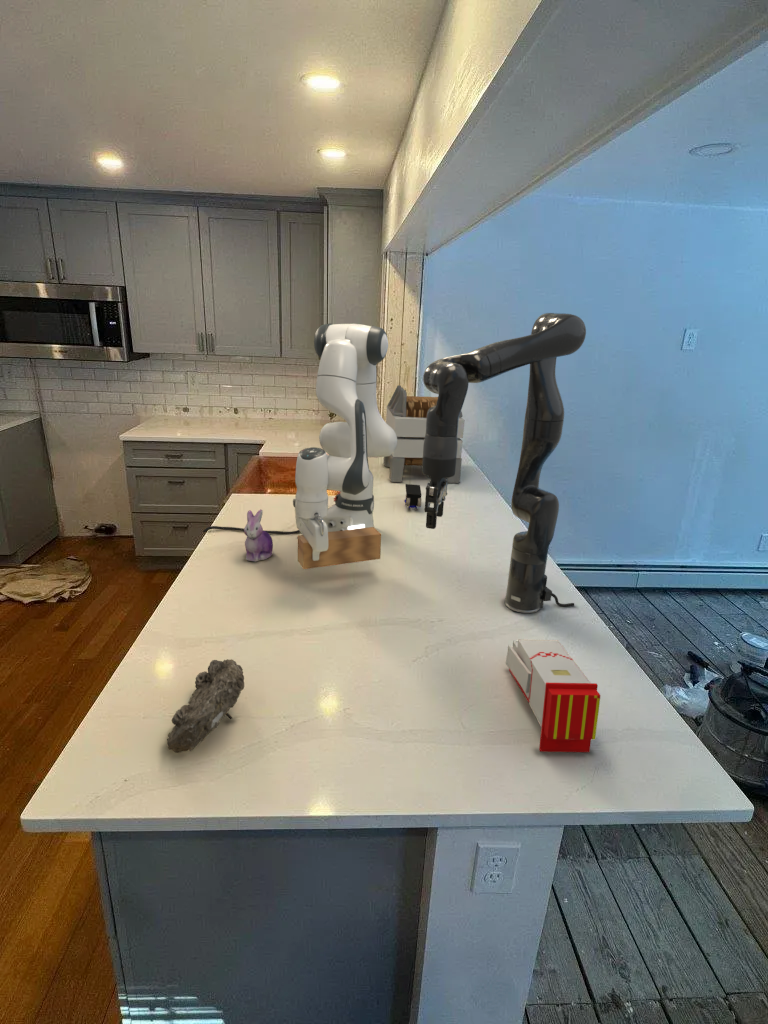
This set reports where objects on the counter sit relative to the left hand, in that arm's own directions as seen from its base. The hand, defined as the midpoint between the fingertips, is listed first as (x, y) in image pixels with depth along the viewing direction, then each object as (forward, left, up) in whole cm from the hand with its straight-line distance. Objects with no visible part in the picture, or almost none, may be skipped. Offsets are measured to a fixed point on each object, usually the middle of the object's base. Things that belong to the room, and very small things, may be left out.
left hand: (311, 554), depth 159 cm
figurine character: (+12, +75, -9) cm, 77 cm away
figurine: (-22, +10, -9) cm, 26 cm away
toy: (+65, -34, -9) cm, 74 cm away
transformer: (+4, +125, -9) cm, 125 cm away
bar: (+6, +5, -3) cm, 9 cm away
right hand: (+36, -13, +20) cm, 43 cm away
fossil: (+4, -59, -9) cm, 59 cm away
